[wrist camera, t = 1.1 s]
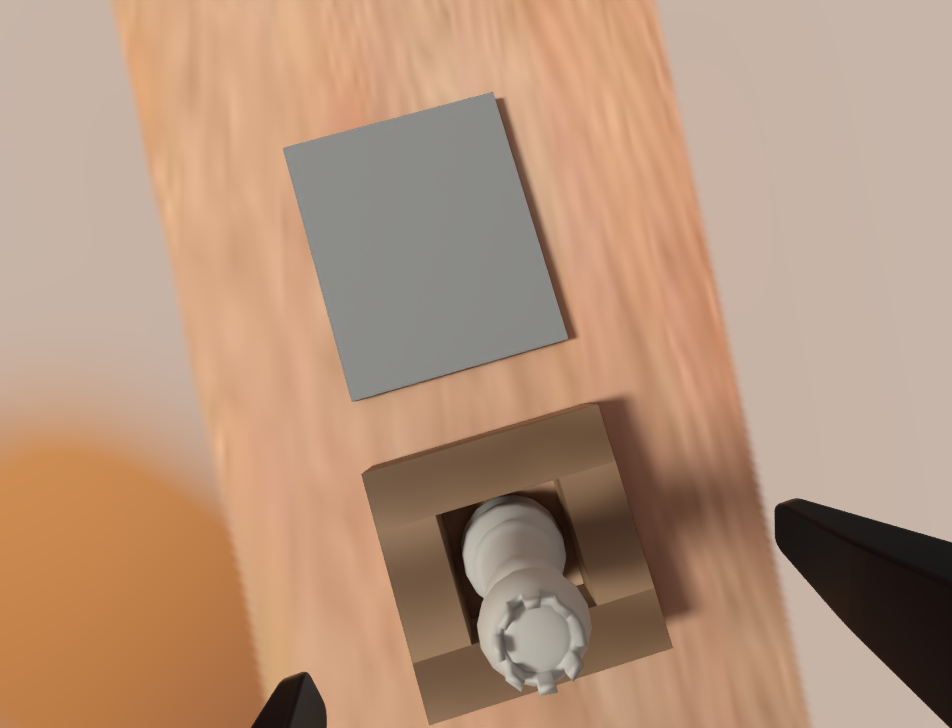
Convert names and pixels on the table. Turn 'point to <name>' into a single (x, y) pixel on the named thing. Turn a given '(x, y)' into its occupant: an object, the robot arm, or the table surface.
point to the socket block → (488, 476)
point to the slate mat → (423, 246)
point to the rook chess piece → (525, 594)
